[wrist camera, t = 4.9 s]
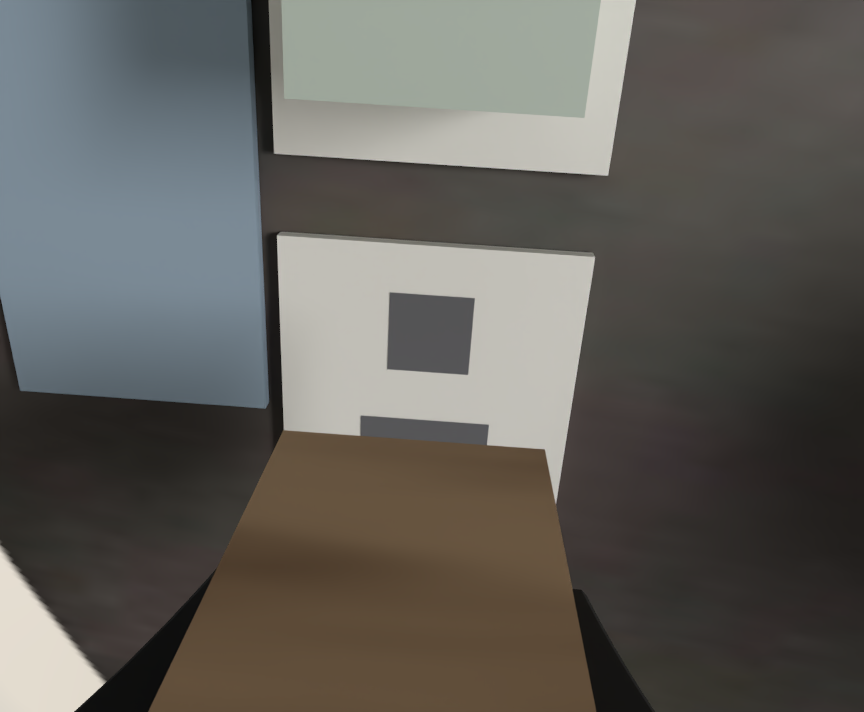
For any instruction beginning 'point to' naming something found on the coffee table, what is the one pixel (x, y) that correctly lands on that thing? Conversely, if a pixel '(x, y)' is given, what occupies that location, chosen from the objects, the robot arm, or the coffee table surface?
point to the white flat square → (462, 119)
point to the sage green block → (442, 53)
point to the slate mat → (132, 200)
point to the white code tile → (431, 340)
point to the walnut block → (388, 587)
